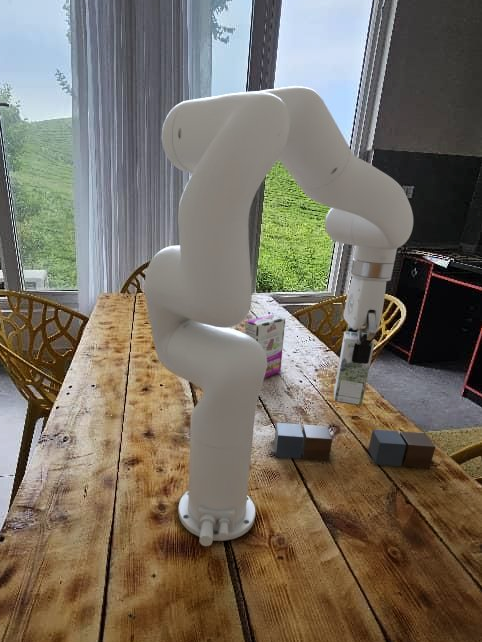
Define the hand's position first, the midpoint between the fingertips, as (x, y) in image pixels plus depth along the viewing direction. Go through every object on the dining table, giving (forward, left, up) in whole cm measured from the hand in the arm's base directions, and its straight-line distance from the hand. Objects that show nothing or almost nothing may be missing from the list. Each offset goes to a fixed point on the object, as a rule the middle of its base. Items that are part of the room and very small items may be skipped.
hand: (355, 355), depth 92 cm
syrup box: (0, 0, -10) cm, 10 cm away
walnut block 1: (-10, +8, -18) cm, 22 cm away
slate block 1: (-10, +13, -18) cm, 24 cm away
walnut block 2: (-10, -12, -18) cm, 24 cm away
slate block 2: (-10, -6, -18) cm, 21 cm away
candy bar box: (+28, +17, -18) cm, 38 cm away
